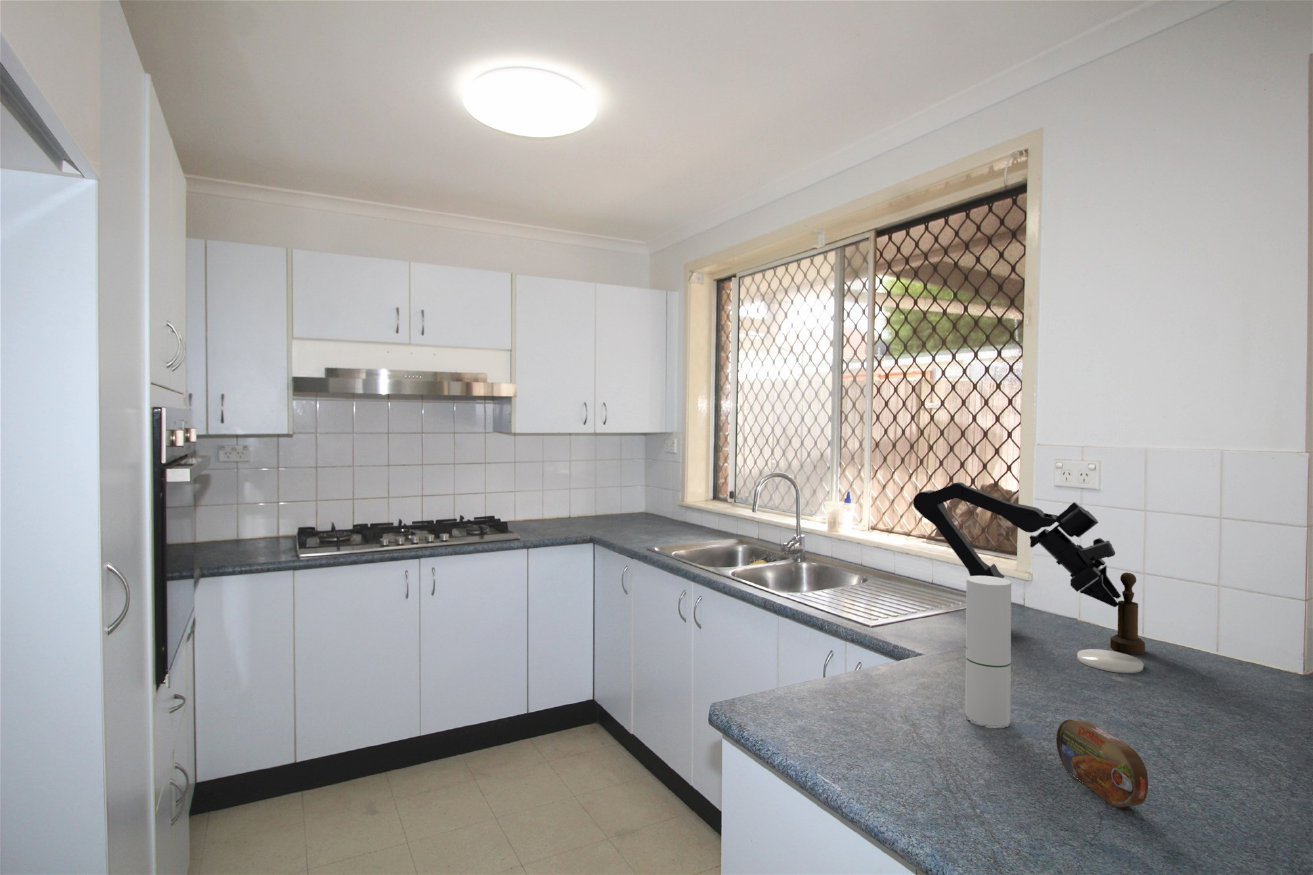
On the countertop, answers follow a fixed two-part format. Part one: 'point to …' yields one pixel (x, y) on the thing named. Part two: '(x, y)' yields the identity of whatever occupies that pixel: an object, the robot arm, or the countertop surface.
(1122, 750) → the tin
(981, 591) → the cylindrical container
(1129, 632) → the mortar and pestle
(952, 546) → the robot arm
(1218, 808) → the countertop surface
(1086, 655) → the cream plate
